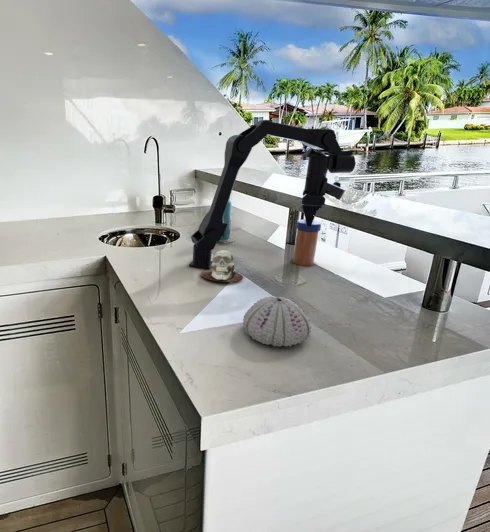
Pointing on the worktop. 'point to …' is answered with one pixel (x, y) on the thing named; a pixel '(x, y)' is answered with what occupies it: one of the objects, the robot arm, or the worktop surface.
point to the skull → (222, 268)
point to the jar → (305, 247)
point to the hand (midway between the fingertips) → (308, 223)
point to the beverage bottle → (227, 220)
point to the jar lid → (303, 226)
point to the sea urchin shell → (276, 322)
